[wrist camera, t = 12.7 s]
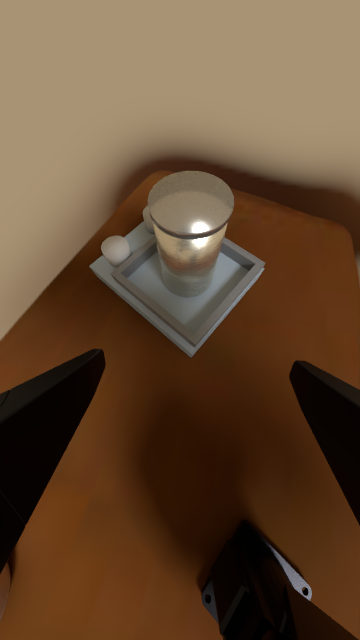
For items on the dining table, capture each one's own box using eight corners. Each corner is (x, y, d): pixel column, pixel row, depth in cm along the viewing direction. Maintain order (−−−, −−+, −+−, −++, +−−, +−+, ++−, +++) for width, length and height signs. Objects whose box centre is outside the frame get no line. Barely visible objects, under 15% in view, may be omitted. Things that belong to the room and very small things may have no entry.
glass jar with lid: (213, 299, 21) (236, 234, 12) (160, 297, 21) (142, 231, 12) (213, 240, 24) (230, 152, 15) (165, 239, 24) (155, 151, 15)
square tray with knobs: (256, 279, 25) (271, 257, 21) (191, 357, 22) (192, 350, 17) (165, 219, 29) (162, 190, 25) (97, 277, 26) (80, 255, 22)
